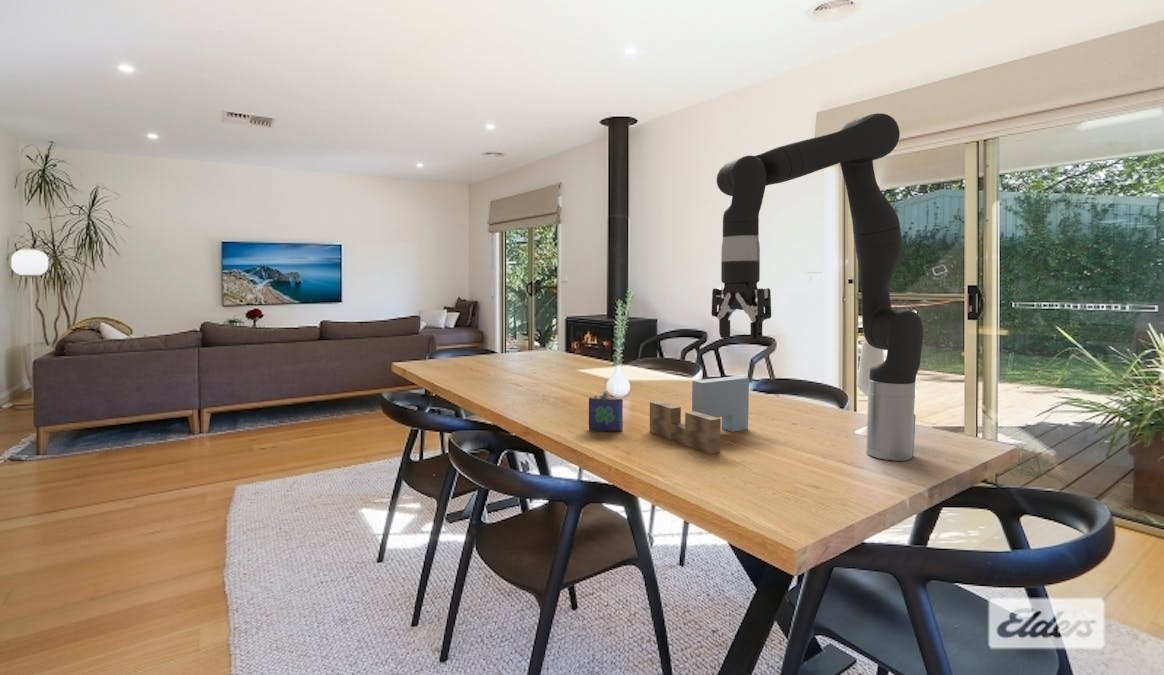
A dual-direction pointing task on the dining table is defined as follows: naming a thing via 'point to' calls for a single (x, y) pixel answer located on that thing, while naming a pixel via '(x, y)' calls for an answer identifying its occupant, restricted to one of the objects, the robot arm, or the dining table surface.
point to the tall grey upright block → (723, 400)
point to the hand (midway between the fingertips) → (739, 339)
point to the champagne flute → (867, 372)
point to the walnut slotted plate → (686, 427)
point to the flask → (605, 413)
